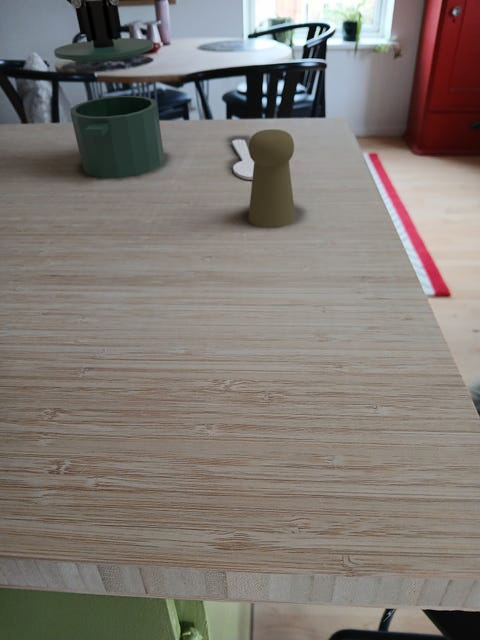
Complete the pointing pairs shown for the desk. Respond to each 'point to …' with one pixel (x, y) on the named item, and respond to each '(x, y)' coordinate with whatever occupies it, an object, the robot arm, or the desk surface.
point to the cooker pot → (118, 136)
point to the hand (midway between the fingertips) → (102, 38)
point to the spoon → (243, 160)
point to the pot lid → (102, 40)
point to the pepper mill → (271, 179)
